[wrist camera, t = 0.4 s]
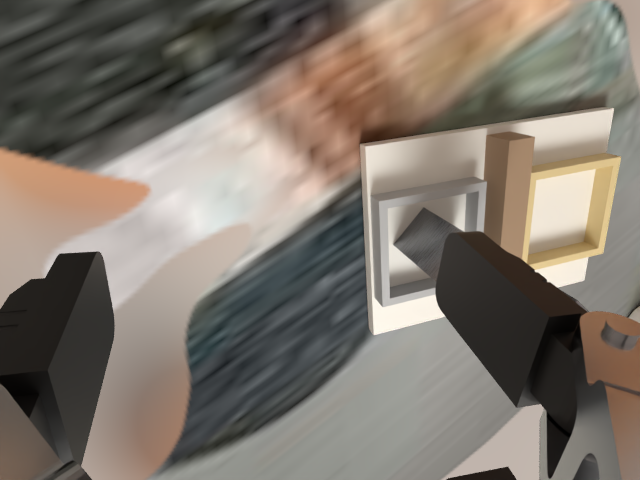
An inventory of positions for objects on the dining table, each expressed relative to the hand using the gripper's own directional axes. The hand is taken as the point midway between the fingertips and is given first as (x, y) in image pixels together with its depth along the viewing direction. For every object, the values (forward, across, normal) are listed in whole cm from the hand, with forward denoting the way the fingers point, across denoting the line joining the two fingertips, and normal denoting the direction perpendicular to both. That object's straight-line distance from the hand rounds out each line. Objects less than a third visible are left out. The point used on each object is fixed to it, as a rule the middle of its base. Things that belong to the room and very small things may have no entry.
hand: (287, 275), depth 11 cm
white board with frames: (+20, -19, +8) cm, 29 cm away
